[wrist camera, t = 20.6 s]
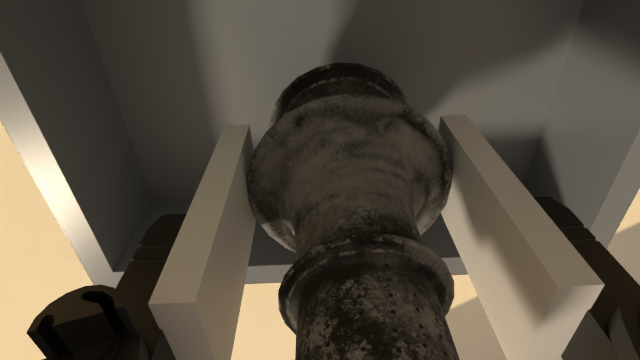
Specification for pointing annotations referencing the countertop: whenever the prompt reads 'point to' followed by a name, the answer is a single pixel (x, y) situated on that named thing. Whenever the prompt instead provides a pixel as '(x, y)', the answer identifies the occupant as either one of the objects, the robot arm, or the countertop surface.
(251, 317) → the countertop surface
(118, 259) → the tote
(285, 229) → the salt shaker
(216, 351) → the robot arm
